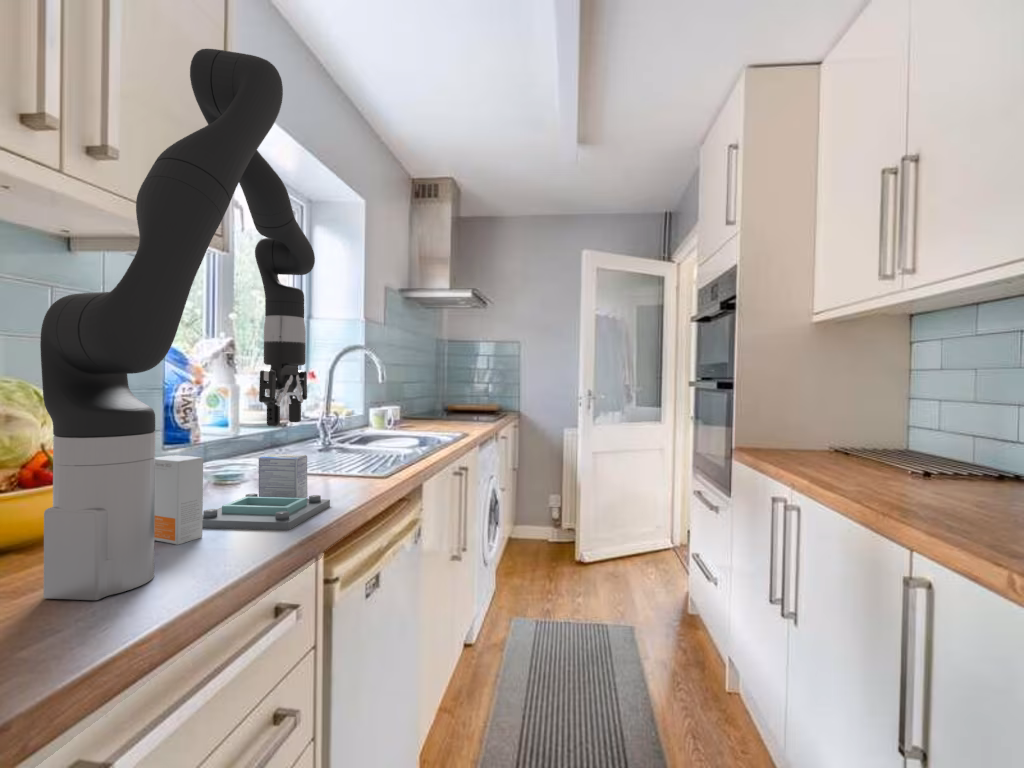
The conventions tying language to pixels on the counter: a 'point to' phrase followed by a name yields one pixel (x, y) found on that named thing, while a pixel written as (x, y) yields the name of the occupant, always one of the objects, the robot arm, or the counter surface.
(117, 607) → the counter surface
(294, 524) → the baseplate
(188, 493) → the skincare box
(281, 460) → the medicine box
